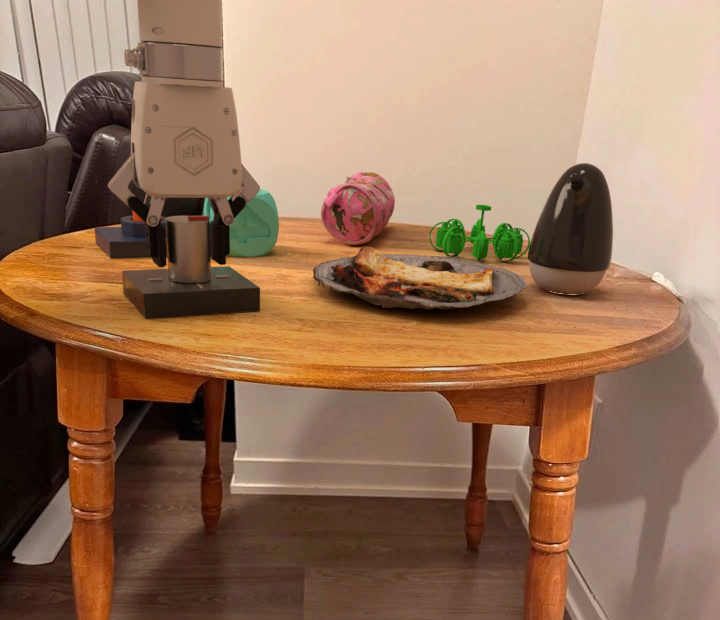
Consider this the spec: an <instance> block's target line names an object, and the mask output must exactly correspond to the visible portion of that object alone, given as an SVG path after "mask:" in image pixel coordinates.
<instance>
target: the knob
mask: <svg viewBox="0 0 720 620" xmlns="http://www.w3.org/2000/svg"><path fill="white" fill-rule="evenodd" d="M166 217H167V218H166V238H167V257H166V260H167V269H168V278H169V279H170V280H171V281H174V282H179V283H203V282H207V281H210V280H211V267H212V261H211V260H212V259H211V251H210V220H209V216H203V215H172V216H166Z"/></svg>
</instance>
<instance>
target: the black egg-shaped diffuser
mask: <svg viewBox="0 0 720 620" xmlns="http://www.w3.org/2000/svg"><path fill="white" fill-rule="evenodd" d="M606 178H607V177H606V176H605V174H604V173H603V171H602V170H601V169H600V168H599V167H598V166H596V165H595V164H592V163H588V162H581V163H577V164H574V165H571V166H570V167H568V168H567V169H566V170H565V171H564V172H563V173H562V174H561V176H560V177H559V178H558V179H557V181H556V182H555V184H554V185H553V187H552V189H551V190H550V193H549V195H548V196H547V198H546V201H545V203H544V204H543V207H542V210H541V212H540V214H539V217H538V219H537V221H536V224H535V227H534V231H533V233H532V236H531V238H530V246H529V248H528V250H527V251H528V252H527V257H526V258H527V260H528V261H529V262H528V263H529V264H528V265H529V271H530V275H531V277H532V280H533V281H534V283H535V284H536V285H537V286H538V287H539V288H541V289H542V290H543V291H545V290H547V291H546V292H548V291H552V292H556V293H563V294H581V295H583V294H582V293H584V294H587V293H589V292H591V291H592V290H594V289H595V288H597V286H598V285H599V284H600V283H601V282H602V280H603V278H605V277H604V276H605V275H606V273H607V270H608V269H610V267H611V263H612V257H613V245H614V221H613V206H612V205H613V204H612V198H611V192H610V191H611V190H610V188H609V184H608V181H607V179H606Z"/></svg>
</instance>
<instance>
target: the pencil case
mask: <svg viewBox="0 0 720 620" xmlns="http://www.w3.org/2000/svg"><path fill="white" fill-rule="evenodd" d="M395 200H396V199H395V195H394V192H393V189H392V187H391V186H390V184H389V182H388V180H386V178H384V177H383V176H382V175H380V174H379V173H376V172H371V171H367V172H365V171H364V172H363V171H361V172H357V173H355V174H352V175H351V176H346V180H345V182H344V183H342V184H337V185H336V186H334V187H331V188H330V189H329V190H328V191H327V194H326V197H325V198H324V200H323V204H322V207H321V210H320V217H321V222H322V224H323V227H324V229H325V230H326V231H327V232H328V233H329V235H330V236H331V237H332V238H334V239H335V240H336V241H338V242H340V243H342V244H344V245H350V246H357V245H363V244H367V243H369V242H370V241H372V239H373V238H375V237H377V236H378V235H379V234H380V233H381V232H383V231H384V229H385V228H386V227H387V225H388V224H389V221H390V219H391V217H392V216H393V214H394V210H395V204H396V201H395Z"/></svg>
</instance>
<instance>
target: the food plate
mask: <svg viewBox="0 0 720 620" xmlns="http://www.w3.org/2000/svg"><path fill="white" fill-rule="evenodd" d="M312 274H313V276H312V279H314V281H316V282H317V283H318V285H317V287H319V286H321V285H322V287H323V288H325V287H326V286H330V289H331V291H334V292H345V293H348V294H349V295H351V294H353V295H354V296H356V297H357V298H360V299H362V300H363V301H365V302H367V303H370V304H373V305H376V306H378V307H379V306H381V309H383V308H385V309H386V308H388V309H391V308H392V309H394V308H405V309H410V310H411V309H412V310H414V309H424V310H425V309H426V310H430V309H440V310H450V309H454V310H456V309H460V308H462V309H465V308H469V307H473V306H478V305H481V304H484V303H488V302H492V301H493V302H494V301H500V300H503V301H505V300H506V298H510V297H515V296H517V294H519V293H520V292H523V291H524V289H526V287H527V286H528V285H529V283H528V282H526V281H525V280H524V277H522V276H521V275H519V274H518V273H516V272H514V271H512V270H508V269H506V268H502V267H498V266H493V265H489V264H486V263H484V262H482V261H481V262H479V261H477V260H475V259H470V258H464V257H458V256H456V257H449V256H444V255H443V256H440V255H439V256H438V255H432V256H428V255H420V254H410V253H409V254H404V253H402V254H401V253H400V254H399V253H394V254H393V253H388V254H386V253H385V254H379V252H378V250H377V249H375V248H374V247H371V246H362V247H360V249H359V250H358V253H357V254H355V255H354V256H346V257H345V256H343V257H339V258H336V259H332V260H328V261H327V260H326V261H324V262H323V261H322V262H320V263H319V264H317V265H316V266H314V267H313V268H312ZM320 283H321V285H320Z"/></svg>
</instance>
